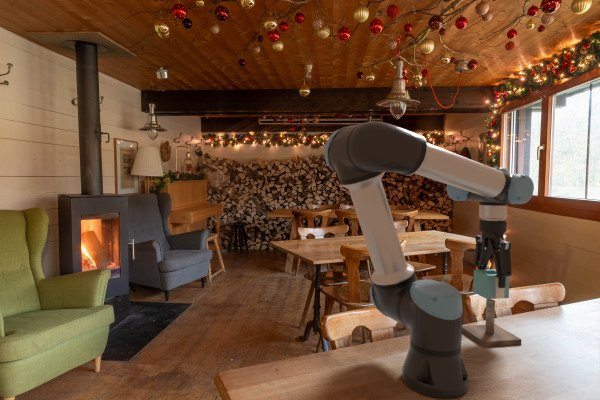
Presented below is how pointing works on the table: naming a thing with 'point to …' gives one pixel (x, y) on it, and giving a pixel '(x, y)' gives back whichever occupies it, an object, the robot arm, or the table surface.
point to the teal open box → (487, 283)
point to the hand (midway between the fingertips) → (491, 294)
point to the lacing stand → (490, 331)
